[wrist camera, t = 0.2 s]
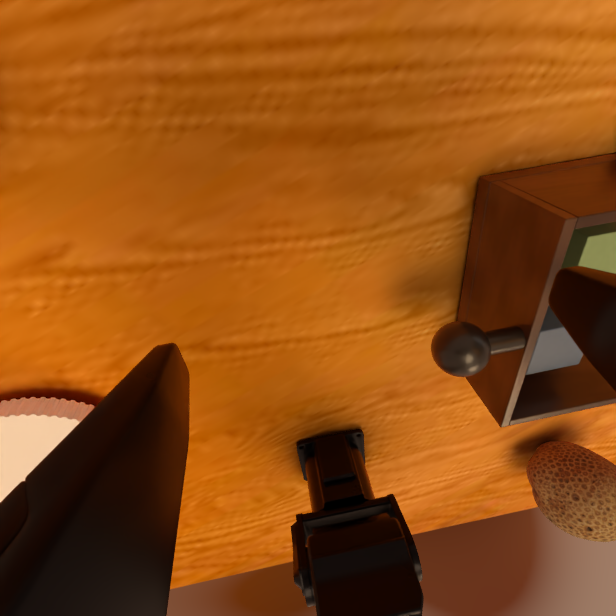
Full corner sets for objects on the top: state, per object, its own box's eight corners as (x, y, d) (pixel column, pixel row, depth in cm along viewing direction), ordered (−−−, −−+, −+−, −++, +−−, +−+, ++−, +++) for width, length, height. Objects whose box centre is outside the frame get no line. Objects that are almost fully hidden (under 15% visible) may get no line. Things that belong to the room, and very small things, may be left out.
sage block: (578, 256, 25) (628, 286, 22) (523, 266, 25) (566, 298, 22) (598, 200, 23) (657, 224, 19) (538, 211, 22) (588, 236, 19)
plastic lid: (-50, 371, 24) (-77, 400, 22) (167, 401, 29) (162, 428, 27) (-34, 486, 31) (-53, 517, 29) (140, 496, 36) (134, 523, 33)
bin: (563, 335, 31) (648, 407, 25) (393, 369, 30) (434, 453, 24) (635, 149, 22) (796, 186, 16) (397, 190, 22) (465, 247, 15)
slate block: (540, 329, 29) (579, 364, 25) (493, 339, 28) (525, 375, 25) (554, 287, 26) (599, 320, 23) (503, 298, 26) (540, 332, 23)
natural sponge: (573, 457, 45) (646, 545, 37) (504, 476, 45) (562, 568, 37) (590, 413, 40) (680, 505, 31) (512, 435, 40) (581, 531, 32)
